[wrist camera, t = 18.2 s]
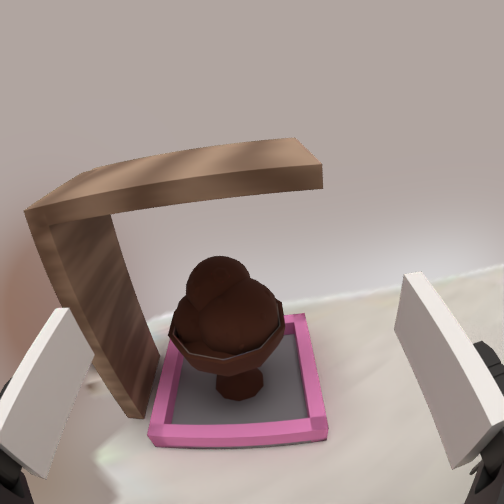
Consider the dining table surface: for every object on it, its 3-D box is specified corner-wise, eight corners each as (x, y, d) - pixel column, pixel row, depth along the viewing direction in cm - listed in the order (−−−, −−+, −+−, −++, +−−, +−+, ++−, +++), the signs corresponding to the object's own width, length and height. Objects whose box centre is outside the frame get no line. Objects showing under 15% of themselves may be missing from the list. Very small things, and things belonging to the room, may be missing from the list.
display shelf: (303, 341, 39) (295, 137, 27) (316, 412, 29) (322, 164, 17) (147, 351, 39) (86, 170, 28) (128, 417, 30) (23, 210, 18)
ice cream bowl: (172, 393, 32) (127, 285, 25) (231, 336, 40) (211, 230, 33) (250, 439, 27) (223, 329, 20) (305, 365, 34) (304, 250, 27)
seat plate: (304, 327, 41) (304, 313, 40) (326, 440, 26) (328, 428, 25) (178, 337, 42) (174, 323, 40) (155, 446, 27) (147, 435, 25)
